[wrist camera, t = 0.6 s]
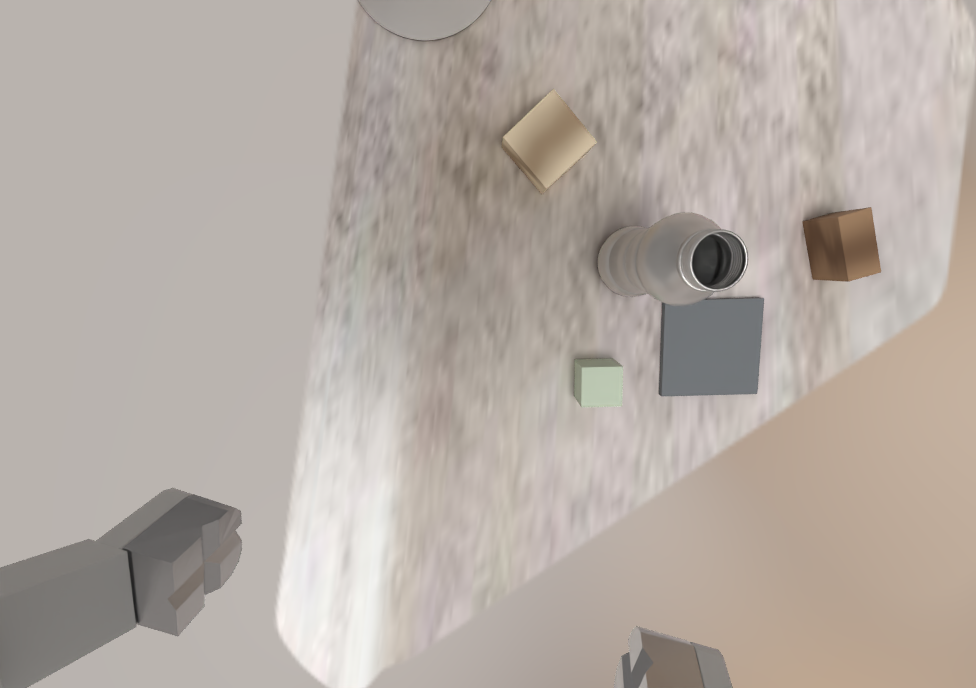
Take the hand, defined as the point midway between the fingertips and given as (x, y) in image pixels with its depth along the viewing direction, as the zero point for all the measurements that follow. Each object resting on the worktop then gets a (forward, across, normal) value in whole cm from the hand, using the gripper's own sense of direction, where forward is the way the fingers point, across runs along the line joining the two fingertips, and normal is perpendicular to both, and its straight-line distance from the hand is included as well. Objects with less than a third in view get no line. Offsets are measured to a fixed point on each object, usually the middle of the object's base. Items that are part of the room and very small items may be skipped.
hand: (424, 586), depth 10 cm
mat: (+44, -18, +6) cm, 47 cm away
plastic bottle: (+43, -7, -1) cm, 44 cm away
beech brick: (+44, +3, -10) cm, 45 cm away
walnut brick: (+47, -26, -6) cm, 54 cm away
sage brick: (+41, -7, +11) cm, 43 cm away
